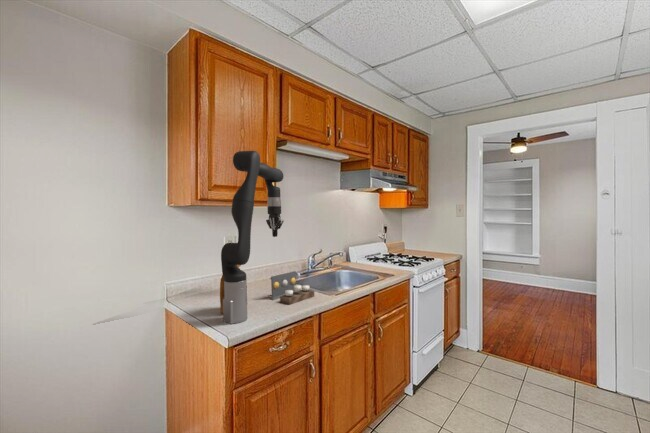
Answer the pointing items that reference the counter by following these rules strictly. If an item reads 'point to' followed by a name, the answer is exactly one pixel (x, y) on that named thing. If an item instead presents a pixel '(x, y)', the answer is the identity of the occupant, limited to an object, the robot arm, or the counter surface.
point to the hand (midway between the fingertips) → (275, 236)
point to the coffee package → (222, 292)
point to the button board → (297, 297)
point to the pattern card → (282, 284)
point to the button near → (289, 292)
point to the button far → (305, 287)
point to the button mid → (297, 287)
